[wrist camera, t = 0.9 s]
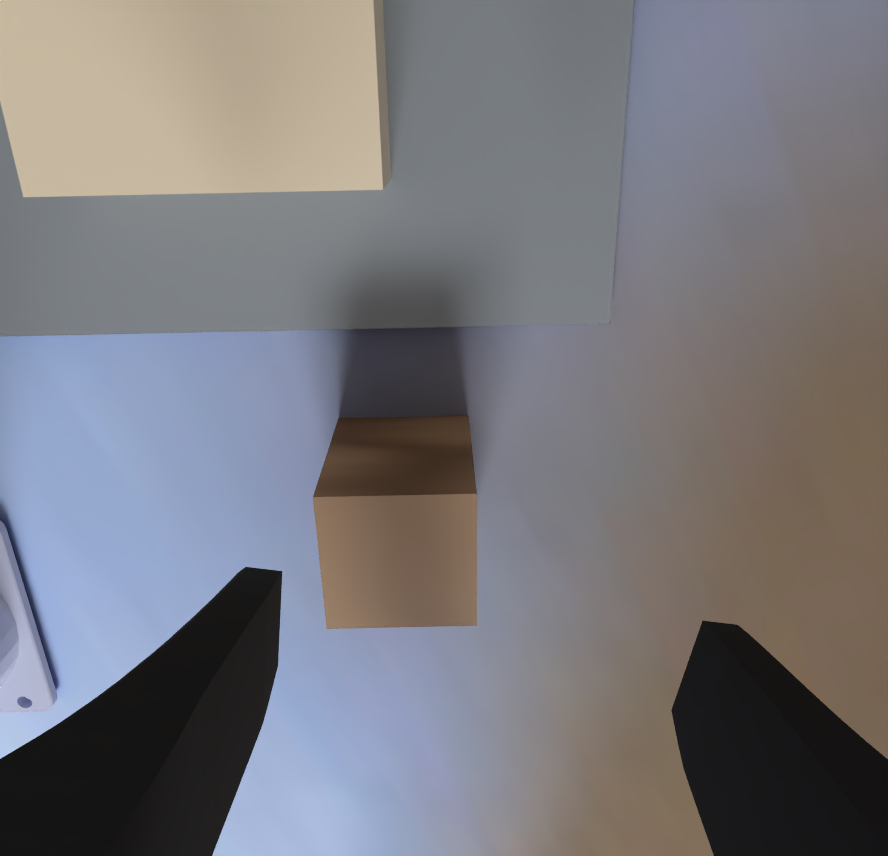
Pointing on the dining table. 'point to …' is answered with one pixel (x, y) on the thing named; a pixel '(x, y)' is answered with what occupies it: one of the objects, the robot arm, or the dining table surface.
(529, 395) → the dining table surface
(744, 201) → the dining table surface
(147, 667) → the robot arm
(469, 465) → the walnut block
